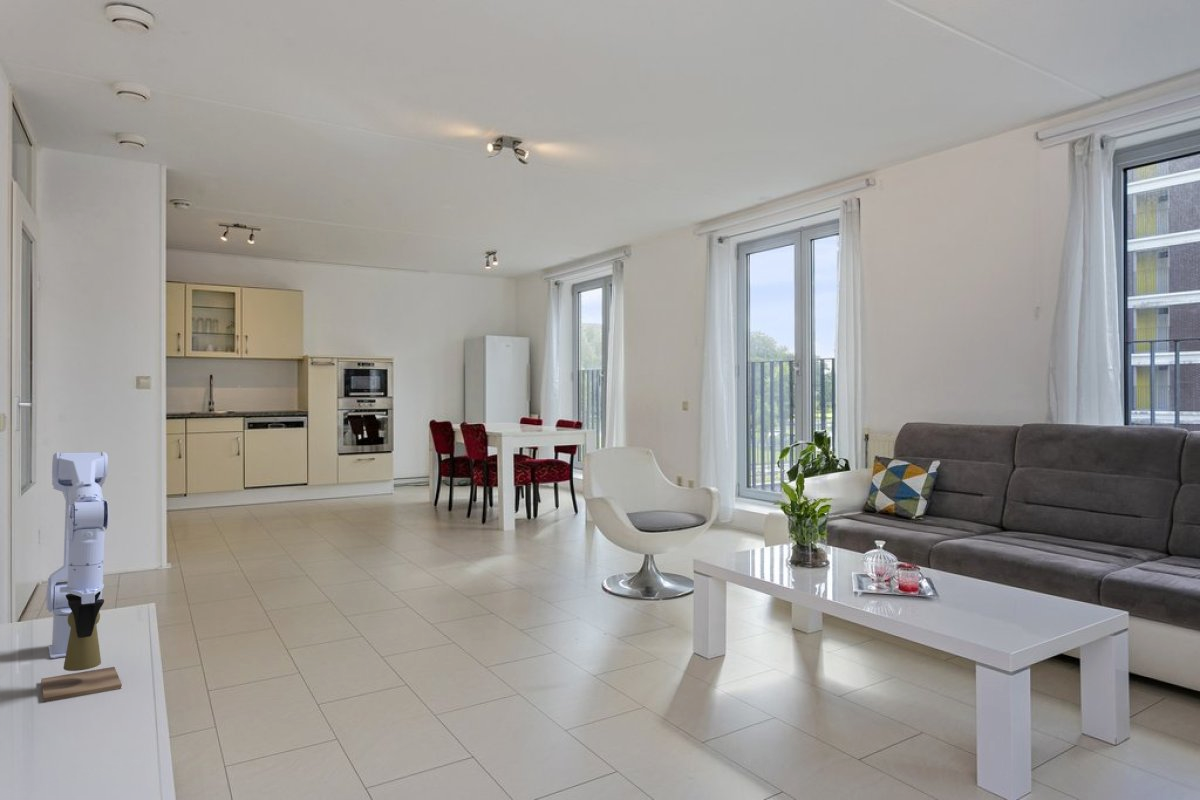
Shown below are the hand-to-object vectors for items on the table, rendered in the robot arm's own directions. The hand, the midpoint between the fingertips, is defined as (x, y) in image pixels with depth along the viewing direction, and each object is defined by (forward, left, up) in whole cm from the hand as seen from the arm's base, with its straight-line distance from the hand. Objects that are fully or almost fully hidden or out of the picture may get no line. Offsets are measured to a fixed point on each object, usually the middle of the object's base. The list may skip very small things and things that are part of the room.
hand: (83, 633), depth 143 cm
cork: (0, 0, -6) cm, 7 cm away
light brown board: (0, 0, -10) cm, 10 cm away
